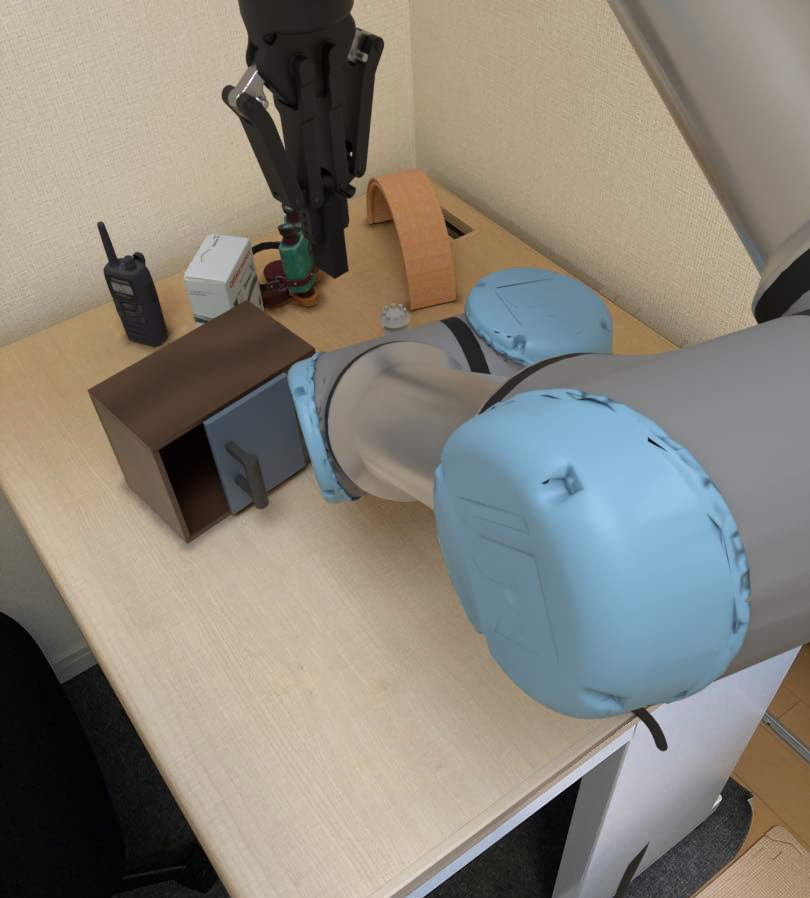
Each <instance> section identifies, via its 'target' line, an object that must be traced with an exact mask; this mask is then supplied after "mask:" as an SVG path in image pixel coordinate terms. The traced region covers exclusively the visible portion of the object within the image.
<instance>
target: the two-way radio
mask: <svg viewBox="0 0 810 898" xmlns="http://www.w3.org/2000/svg"><path fill="white" fill-rule="evenodd" d="M96 227H97V230H98V233H99V236H100V240H101V244H102V247H103V250H104V252H105V255H106V258H107V261H108V262H107V263H106V264H105V265H104V267H103V269H102V270H103V276H104V279H105V282H106V285H107V288H108V290H109V293H110V296H111V298H112V301H113V303H114V306H115V309H116V310H115V311H116V312H117V316H118V317H119V319H120V321H121V324H122V326H123V329H124V332H125V334H126V337H127V339H128V340H129V341H132V342H137V343H140V344H144V345H148V346H152V347H156V346H160V345H162V343H164V342H165V341H166V340H167V338H168V328H167V324H166V320H165V317H164V313H163V310H162V305H161V301H160V298H159V294H158V291H157V288H156V284H155V283H154V282H155V281H154V280H153V277H152V274H151V272H150V269H149V268H148V267H147V266H146V263H147V262H146V258H145V255H144V254H143V253H142V252H139V251H135V252H134V253H133V254H132V255H130V254H126V255H124V257H118V256H117V254H116V251H115V247H114V245H113V243H112V242H113V241H112V240H111V237H110V234H109V233H108V230H107V226H106V224H105V222H103V221H102V220H101V221H100V220H99V221H97V223H96Z"/></svg>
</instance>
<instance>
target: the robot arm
mask: <svg viewBox="0 0 810 898" xmlns="http://www.w3.org/2000/svg"><path fill="white" fill-rule="evenodd" d="M606 2H607V4H608V7H610V9H611V11H612V13H613V14H614V16H615V18H616V20H617V22H618V24H619V25H620V28H621V29H622V31H623V33H624V35H625V36H626V38H627V40H628V41H629V43H630V45H631V47H632V49H633V51H634V52H635V54H636V56H637V59H638V60H639V61H640V63H641V65H642V67H643V68H644V71H645V72H646V74H647V75H648V77H649V79H650V81H651V83H652V84H653V86H654V88H655V90H656V91H657V93H658V95H659V97H660V99H661V100H662V102H663V104H664V106H665V108H666V110H667V111H668V114H669V115H670V117H671V118H672V120H673V122H674V124H675V125H676V127H677V129H678V131H679V133H680V134H681V137H682V138H683V140H684V142H685V143H686V146H687V147H688V149H689V151H690V153H691V154H692V157H693V158H694V159H695V162H696V163H697V165H698V167H699V169H700V171H701V172H702V175H703V176H704V178H705V179H706V181H707V183H708V185H709V187H710V188H711V190H712V192H713V194H714V195H715V197H716V200H717V201H718V202H719V204H720V206H721V208H722V210H723V212H724V213H725V215H726V217H727V219H728V221H729V222H730V224H731V226H732V228H733V230H734V232H735V233H736V235H737V236H738V238H739V240H740V242H741V244H742V245H743V247H744V249H745V252H747V255H748V256H749V258H750V260H751V262H752V264H753V266H754V267H755V269H756V271H757V273H758V274H759V276H760V278H759V281H758V285H757V288H756V290H755V293H754V295H753V298H752V302H751V307H750V311H751V313H752V316H753V318H754V320H755V321H756V323H757V324H754V325H751V326H749V327H745V328H742V329H738V330H736V331H733V332H729V333H726V334H723V335H720V336H716V337H714V338H711V339H708V340H704V341H701V342H698V343H695V344H692V345H688V346H685V347H681V348H678V349H673V350H670V351H663V352H658V353H652V354H645V355H644V354H643V355H642V354H641V355H635V354H614V353H613V336H614V334H613V333H614V324H613V318H612V315H611V312H610V309H609V307H608V306H607V304H606V303H605V302H604V301H605V300H603V299H602V298H601V296H600V295H599V294H598V293H596V292H595V290H593V289H592V288H591V287H589V286H588V285H587V284H585V283H584V282H582V281H581V280H578V279H576V278H575V277H572V276H570V275H566V274H562V273H560V272H559V273H558V272H556V271H555V270H551V269H546V268H540V267H529V266H527V267H526V266H520V267H519V266H518V267H508V268H504V269H499V270H495V271H493V272H491V273H489V274H486V275H484V276H482V277H481V278H480V279H478V280H477V282H476V283H475V285H474V286H473V287H472V288H471V289H470V290H469V292H468V295H467V297H466V299H465V302H464V303H465V304H464V312H463V313H459V314H457V315H453V316H450V317H447V318H443V319H440V320H434V321H430V322H427V323H424V324H421V325H416V326H413V327H409V329H406V330H403V331H399V332H396V333H392V334H389V335H382V336H378V337H375V338H371V339H368V340H364V341H360V342H358V343H354V344H351V345H347V346H343V347H340V348H337V349H334V350H329V351H327V352H325V351H318V352H317V351H316V353H315V354H314V355H313V356H312V357H311V358H308V359H305V360H302V361H300V362H297V363H295V364H294V365H292V367H291V368H290V369H289V371H288V375H287V380H288V384H289V388H290V391H291V394H292V398H293V401H294V405H295V408H296V412H297V415H298V419H299V422H300V426H301V429H302V432H303V436H304V439H305V442H306V446H307V449H308V453H309V456H310V459H311V460H310V463H311V465H312V469H313V472H314V476H315V479H316V482H317V485H318V487H319V491H320V492H319V493H320V495H321V497H322V499H323V500H324V501H325V502H327V503H329V504H332V505H336V504H341V503H345V502H348V503H352V502H356V501H358V500H360V499H361V497H362V496H365V495H366V496H367V495H372V496H374V497H377V498H379V499H383V500H386V501H387V500H388V501H392V502H402V503H403V502H404V503H408V502H409V503H410V502H417V501H419V502H420V503H422V504H423V505H425V506H427V507H428V508H429V509H431V510H433V514H434V520H435V526H436V531H437V532H436V533H437V537H438V543H439V546H440V550H441V554H442V558H443V560H444V563H445V567H446V569H447V572H448V575H449V578H450V581H451V584H452V586H453V588H454V591H455V593H456V595H457V598H458V600H459V602H460V604H461V607H462V609H463V611H464V613H465V615H466V617H467V619H468V621H469V622H470V624H471V625H472V627H473V628H474V630H475V632H477V634H479V635H483V636H484V637H485V640H486V643H487V648H488V651H489V654H490V657H492V659H493V660H494V661H495V663H496V664H497V665H498V666H499V668H500V670H501V671H503V672H504V674H505V675H506V676H507V677H508V678H509V679H510V680H511V681H512V682H513V683H514V684H515V685H516V686H517V687H518V688H519V689H520V690H521V691H522V692H524V693H525V695H527V696H529V697H530V698H531V699H533V700H534V701H535V702H537V703H538V704H540V705H542V706H544V707H545V708H547V709H549V710H551V711H553V712H555V713H557V714H561V715H563V716H566V717H569V718H575V719H580V720H604V719H609V718H615V717H617V716H620V715H623V714H626V713H630V712H631V713H632V714H634V716H636V717H637V718H638V719H639V720H640V721H641V722H643V724H644V725H645V726H646V727H647V729H648V731H649V732H650V734H651V736H652V739H653V741H654V744H655V747H656V748H657V750H659V751H660V752H666V751H668V748H669V746H668V741H667V738H666V736H665V733H664V731H663V729H662V727H661V726H660V724H659V723H658V721H657V720H656V718H655V717H654V716H653V715H652V714H651V712H649V711H648V710H647V709H646V708H645V707H655V706H658V705H661V704H662V705H663V704H666V705H669V704H671V703H675V702H679V701H684V700H685V699H688V698H690V697H692V696H695V695H696V694H698V693H700V692H702V691H704V690H705V689H706V688H707V687H709V686H710V685H712V684H713V683H715V682H717V681H720V680H722V679H725V678H727V677H729V676H732V675H734V674H737V673H739V672H741V671H744V670H746V669H748V668H751V667H753V666H755V665H758V664H760V663H763V662H766V661H767V660H770V659H773V658H775V657H778V656H779V655H782V654H784V653H787V652H789V651H792V650H795V649H796V648H798V647H801V646H803V645H805V644H809V643H810V0H606ZM354 3H355V0H237V5H238V9H239V14H240V17H241V19H242V22H243V24H244V27H245V29H246V33H247V45H246V50H245V55H244V56H245V57H244V58H245V63H246V67H247V69H246V70H245V72H244V73H243V75H242V76H241V78H240V80H239V81H238V82H237V84H236V85H235V86H234V85H233V84H227V85H225V86H224V87H223V88H222V90H221V93H220V94H221V100H222V102H223V103H224V104H225V105H226V106H227V107H228V108H229V109H230V110H231V111H232V113H234V114H235V115H236V116H237V117H238V119H239V121H240V124H241V126H242V129H243V131H244V133H245V135H246V137H247V140H248V142H249V144H250V147H251V149H252V152H253V154H254V156H255V158H256V161H257V163H258V165H259V168H260V170H261V173H262V175H263V177H264V179H265V181H266V185H267V187H268V189H269V191H270V193H271V196H272V198H273V199H274V200H276V201H278V202H280V203H281V204H282V203H283V204H284V205H286V206H288V207H289V208H291V209H293V210H294V211H299V217H300V222H301V230H302V234H303V236H304V238H305V239H307V240H309V241H310V242H311V248H312V255H313V262H314V266H315V267H317V268H318V269H320V270H321V272H323V273H325V274H326V275H328V276H330V277H331V278H332V279H334V280H336V279H338V278H339V277H341V276H343V275H345V274H346V273H348V272H350V271H349V261H348V253H347V245H346V244H347V243H346V236H345V229H347V228H348V227H349V225H350V213H349V212H350V211H349V202H348V200H350V199H352V198H353V197H354V196H355V195H356V192H357V187H355V186H354V185H352V184H350V183H352V182H353V180H354V179H355V178H357V179H361V178H363V177H364V175H365V174H366V172H367V166H368V154H369V145H370V132H371V123H372V112H373V103H374V92H375V80H376V73H377V69H378V66H379V64H380V61H381V58H382V55H383V52H384V49H385V41H384V39H383V37H382V36H379V35H377V34H374V33H372V32H369V31H367V30H366V29H362V28H361V27H357V23H356V21H355V18H354V16H353V15H352V13H351V12H352V10H353V8H354ZM264 87H265V88H267V90H268V91H269V92H270V93H271V94H272V99H273V104H274V105H273V106H274V107H275V109H276V111H277V112H278V114H279V119H280V125H281V131H282V138H283V141H282V138H281V135H280V133H279V131H278V128H277V125H276V123H275V120H274V118H273V117H272V115H271V114H270V112H268V108H269V106H270V103H269V101H268V99H267V96H266V94H265V91H264ZM650 842H651V841H650V840H649V841H648V843H646V845H645V846H644V847H643V848H642V849H641V850H640V851H639V852H638V854H636V856H635V857H633V859H632V860H631V861H630V862H629V863H628V865H627V867H626V868H625V871H624V872H623V874H622V876H621V879H620V882H619V884H618V886H617V888H616V891H615V893H614V897H613V898H624V897H625V895H626V893H627V890H628V888H629V886H630V884H631V882H632V880H633V877H634V876H635V874H636V872H637V870H638V869H639V867H640V864H641V862H642V861H643V858H644V856H645V854H646V852H647V850H648V847H649V845H650Z"/></svg>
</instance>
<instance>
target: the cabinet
mask: <svg viewBox="0 0 810 898" xmlns="http://www.w3.org/2000/svg"><path fill="white" fill-rule="evenodd" d="M315 353H317V351H316V348H315V347H314V346H313V345H312V344H311V343H309V342H307V341H306V340H305V339H304V338H302V337H301V336H299V335H298V334H297V333H295V332H293V331H292V330H290V329H289V328H288V327H287V326H285V325H284V324H282V323H281V322H279V321H278V320H277V319H275V318H273V316H271V315H270V314H268V313H266V312H265V310H264V311H262V310H261V309H260V308H258V307H257V306H255V305H254V304H253V303H251V302H250V301H248V300H245V301H244V302H242V303H240V304H238V305H237V306H235V307H233V308H231V309H230V310H228V311H226V312H224V313H222V314H221V315H219V316H217V317H215V318H214V319H212V320H210V321H208V322H207V323H205V324H203V325H201V326H200V327H198V328H197V327H196V328H194V329H192V330H191V331H189V332H187V333H185V334H184V335H182V336H180V337H179V338H177V339H175V340H173V341H172V342H169V343H168V344H166V345H164V346H162V347H161V348H159V349H157V350H155V351H153V352H152V353H150V354H148V355H146V356H145V357H143V358H141V359H140V360H138V361H136V362H134V363H133V364H130V365H129V366H127V367H126V368H124V369H121V370H120V371H118V372H116V373H115V374H113V375H111V376H109V377H108V378H106V379H104V380H102V381H100V382H99V383H97V384H95V385H93V386H91V387H90V388H88V389H87V390H86V391H87V393H88V396H89V398H90V401H91V403H92V405H93V408H94V410H95V412H96V414H97V416H98V419H99V421H100V424H101V426H102V428H103V431H104V433H105V435H106V438H107V440H108V443H109V445H110V448H111V449H112V452H113V454H114V456H115V458H116V461H117V463H118V466H119V468H120V470H121V473H122V475H123V477H124V480H125V482H126V484H127V486H128V488H129V489H131V490H132V492H134V493H135V494H136V495H137V496H138V497H139V499H141V501H143V502H144V503H145V504H146V505H147V506H148V507H149V508H150V509H151V510H152V511H153V512H154V513H155V514H156V515H157V516H158V517H159V518H160V519H161V520H162V521H163V522H164V523H165V524H166V525H167V526H168V527H169V528H171V530H173V531H174V533H175V534H177V536H178V537H180V539H181V540H182V541H184V543H186V544H189V543H191V542H192V541H194V540H196V538H198V537H199V536H201V535H203V534H204V533H206V532H207V531H208V530H210V529H212V527H214V526H216V525H217V524H219V523H220V522H221V521H223V520H225V519H226V518H228V517H229V516H230V515H233V513H231V512H230V509H229V505H228V502H227V499H226V496H225V492H224V489H223V486H222V483H221V479H220V476H219V473H218V470H217V466H216V463H215V460H214V457H213V454H212V450H211V447H210V444H209V441H208V437H207V434H206V431H205V428H204V424H203V422H204V421H206V420H207V419H209V418H211V417H212V416H214V415H216V414H217V413H219V412H220V411H222V410H224V409H225V408H227V407H228V406H230V405H232V404H233V403H235V402H237V401H238V400H240V399H241V398H243V397H245V396H246V395H248V394H250V393H251V392H253V391H254V390H256V389H258V388H259V387H261V386H262V385H264V384H266V383H267V382H269V381H271V380H272V379H274V378H275V377H277V376H279V375H280V374H282V373H286V374H287V375H288V371H289V369H290V368H291V367H292V365H294V364H295V363H297V362H300V361H302V360H305V359H308V358H311V357H312V356H313V355H314V354H315ZM292 399H293V398H292ZM293 404H294V401H293ZM294 409H295V414H296V419H297V424H298V430H299V435H300V440H301V445H302V450H303V455H304V460H305V465H306V464H307V463H309V462H311V459H310V456H309V453H308V449H307V446H306V442H305V439H304V436H303V432H302V429H301V426H300V422H299V419H298V415H297V412H296V408H295V405H294Z"/></svg>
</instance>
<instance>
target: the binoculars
mask: <svg viewBox="0 0 810 898" xmlns="http://www.w3.org/2000/svg"><path fill="white" fill-rule="evenodd" d="M281 209H282V212H283V213H284V214H285V215H284V217H283V223H282V224H279V225H278V226H277V230H278V232H279V235H280V236H281V237H282V238H281V241H279V240H276V241H263V242H259V243H257V244H254V245H253V246H251V247H252V252H253V256H255V255H256V254H258V253H260V252H262V251H266V250H278V251H279V257H280V259H276V260H273V261H270V262H268V264H266V265H265V266H264V267H263V271H262V274H263V277H264V279H265V281H266V283H265V282H264V283H259V287H260V292H261V298H262V302H263V307H266V308H267V307H269V308H271V307H276V306H278V305H281V304H283V303H285V302H287V301H288V300H294V301H295V302H296V303H297V304H299V305H300V306H303V307H313V306H315V305H317V304H318V303H319V302H320V297H319V293H318V292H319V291H318V290H317V289H316V287H313V286H314V283H318V282H320V281H321V280H322V278H323V277H322V276H323V274H322V270H320V269H318V268H317V267H315V266H314V262H313V255H312V248H311V242H310V241H309V240H307V239H305V238H304V236H303V234H302V230H301V222H300V217H299V211H294V210H293V209H291V208H289V207H288V206H286V205H284V204H283V203H281Z"/></svg>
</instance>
